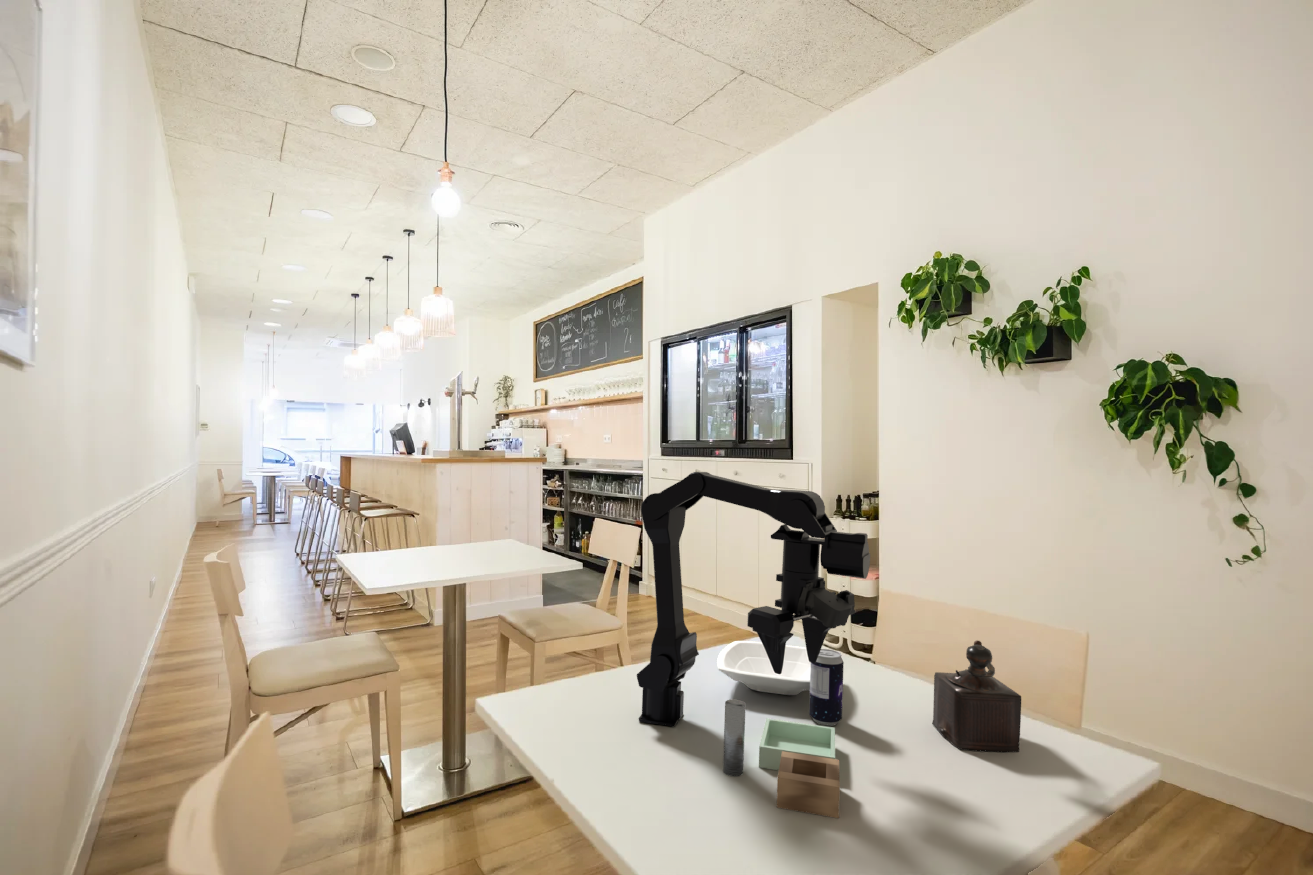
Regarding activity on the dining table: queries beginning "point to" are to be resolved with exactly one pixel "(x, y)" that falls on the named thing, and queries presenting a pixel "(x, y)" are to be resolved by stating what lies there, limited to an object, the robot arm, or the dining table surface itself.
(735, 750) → the cylinder
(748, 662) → the bowl
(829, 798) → the brown square sleeve
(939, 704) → the dark brown ornamental box
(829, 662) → the beverage can
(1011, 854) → the dining table surface
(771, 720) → the tray
